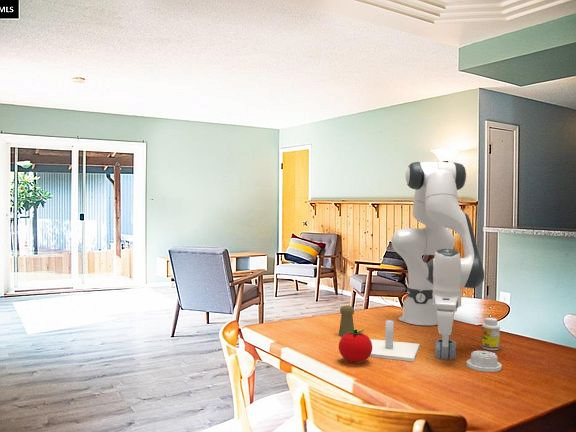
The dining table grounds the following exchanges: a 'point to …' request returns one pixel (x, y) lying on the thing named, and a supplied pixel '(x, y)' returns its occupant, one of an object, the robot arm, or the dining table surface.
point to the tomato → (355, 346)
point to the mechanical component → (484, 361)
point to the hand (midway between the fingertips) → (446, 342)
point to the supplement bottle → (490, 334)
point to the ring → (445, 350)
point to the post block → (393, 347)
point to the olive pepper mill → (346, 320)
